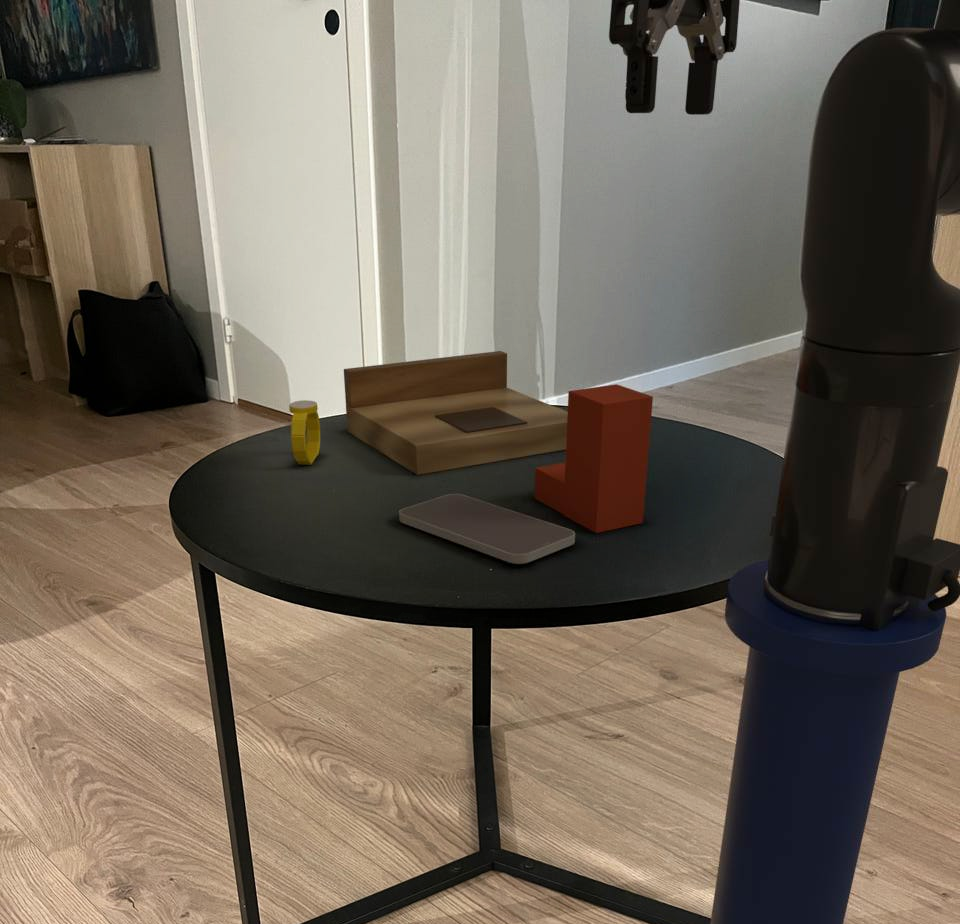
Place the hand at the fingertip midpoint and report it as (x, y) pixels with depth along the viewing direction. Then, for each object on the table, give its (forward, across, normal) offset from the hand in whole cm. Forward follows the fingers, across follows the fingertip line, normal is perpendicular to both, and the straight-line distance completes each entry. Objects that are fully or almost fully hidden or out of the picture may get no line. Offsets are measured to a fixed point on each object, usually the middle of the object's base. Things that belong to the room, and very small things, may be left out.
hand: (670, 113), depth 78 cm
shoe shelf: (+31, +2, +25) cm, 40 cm away
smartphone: (+32, -18, +4) cm, 36 cm away
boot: (+31, -7, +1) cm, 32 cm away
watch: (+32, -15, +31) cm, 47 cm away
